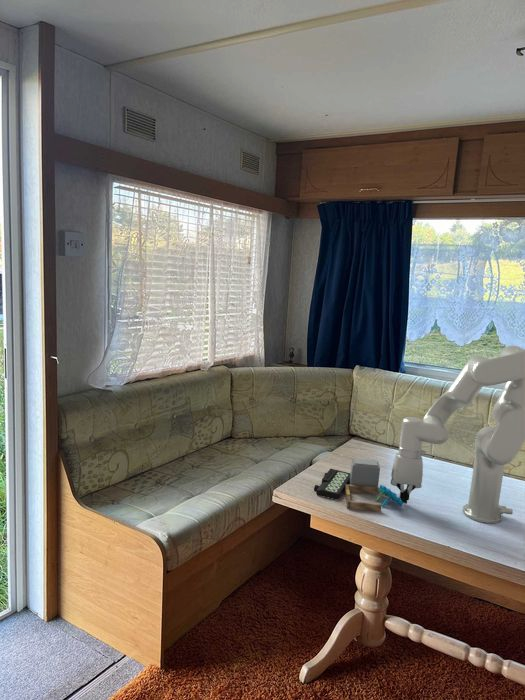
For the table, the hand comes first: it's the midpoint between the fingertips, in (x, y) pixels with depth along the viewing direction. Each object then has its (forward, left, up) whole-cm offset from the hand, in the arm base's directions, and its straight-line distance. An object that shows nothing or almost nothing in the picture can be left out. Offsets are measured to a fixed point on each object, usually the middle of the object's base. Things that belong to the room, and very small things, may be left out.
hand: (403, 501), depth 184 cm
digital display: (+25, -10, -2) cm, 27 cm away
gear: (+5, +1, -2) cm, 5 cm away
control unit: (+13, -11, -1) cm, 17 cm away
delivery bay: (+14, 0, -1) cm, 14 cm away
